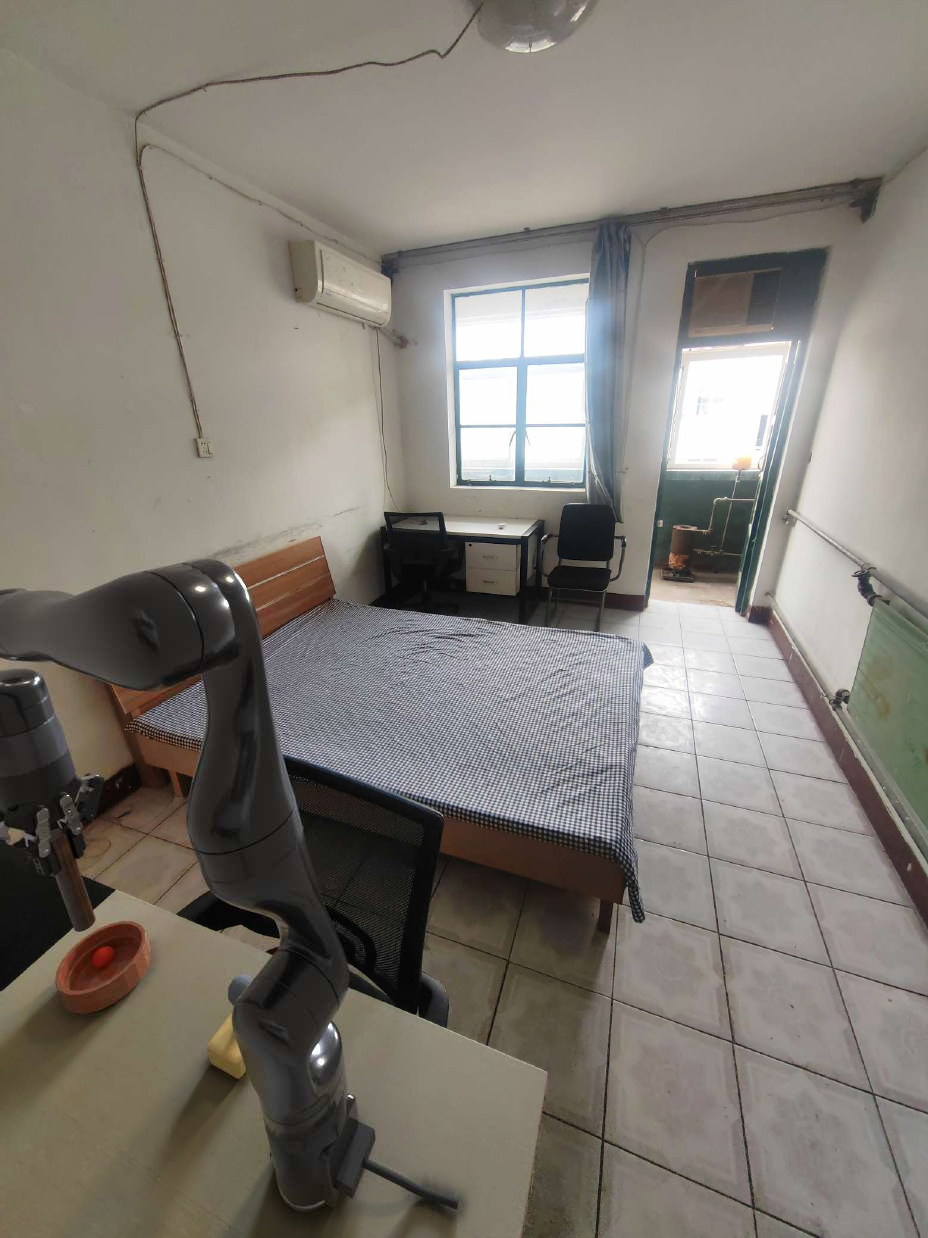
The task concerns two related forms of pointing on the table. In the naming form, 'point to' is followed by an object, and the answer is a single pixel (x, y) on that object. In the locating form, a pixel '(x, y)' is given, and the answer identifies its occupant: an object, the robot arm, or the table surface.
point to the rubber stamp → (229, 1035)
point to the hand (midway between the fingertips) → (64, 863)
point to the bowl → (106, 985)
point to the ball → (103, 957)
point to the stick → (71, 882)
